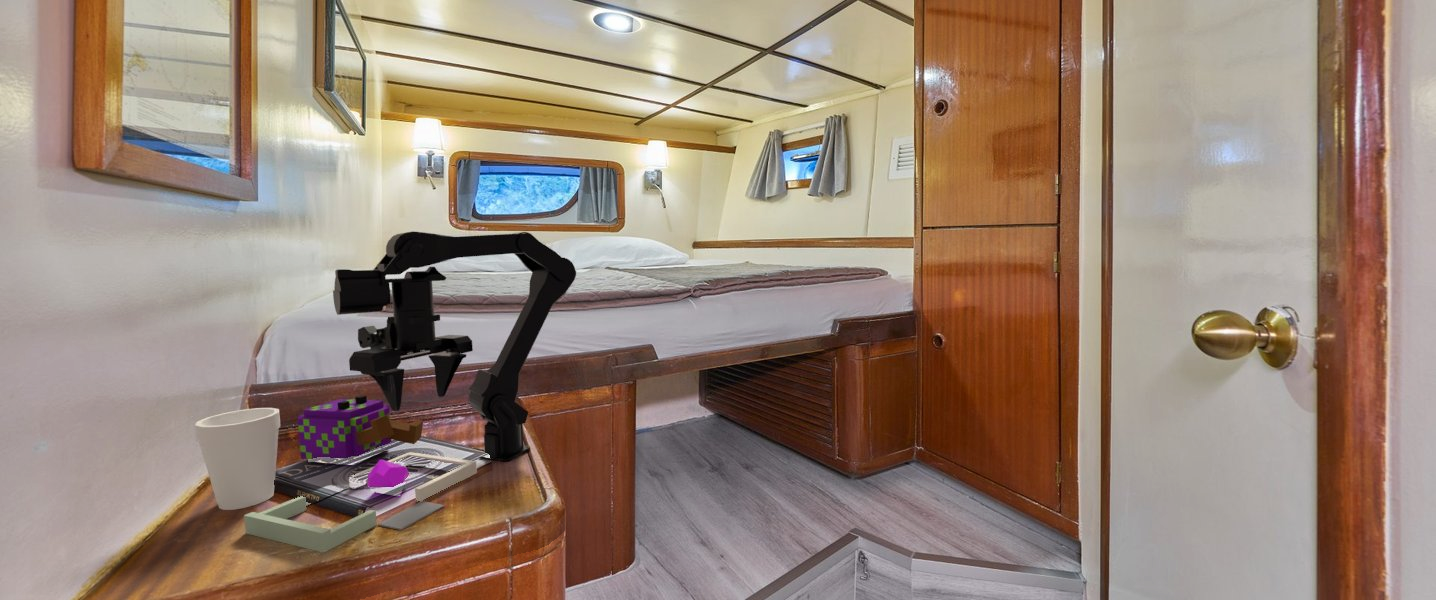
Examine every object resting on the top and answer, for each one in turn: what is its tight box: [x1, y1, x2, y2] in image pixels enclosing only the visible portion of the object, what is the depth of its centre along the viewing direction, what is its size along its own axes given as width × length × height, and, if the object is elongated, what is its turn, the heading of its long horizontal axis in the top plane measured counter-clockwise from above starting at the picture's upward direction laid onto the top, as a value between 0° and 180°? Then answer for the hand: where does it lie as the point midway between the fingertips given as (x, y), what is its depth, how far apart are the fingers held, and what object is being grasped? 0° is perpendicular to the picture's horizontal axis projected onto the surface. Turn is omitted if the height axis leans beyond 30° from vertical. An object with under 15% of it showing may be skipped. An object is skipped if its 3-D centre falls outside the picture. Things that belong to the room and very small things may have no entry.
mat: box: [377, 500, 445, 531], centre depth 74 cm, size 7×4×1 cm, turn 161°
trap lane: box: [243, 451, 478, 553], centre depth 79 cm, size 25×15×2 cm, turn 161°
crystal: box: [366, 459, 410, 487], centre depth 82 cm, size 5×5×5 cm
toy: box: [297, 395, 424, 460], centre depth 96 cm, size 10×11×20 cm
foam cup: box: [194, 407, 281, 511], centre depth 79 cm, size 10×9×13 cm
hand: (419, 403), depth 87 cm, fingers open, 8 cm apart
